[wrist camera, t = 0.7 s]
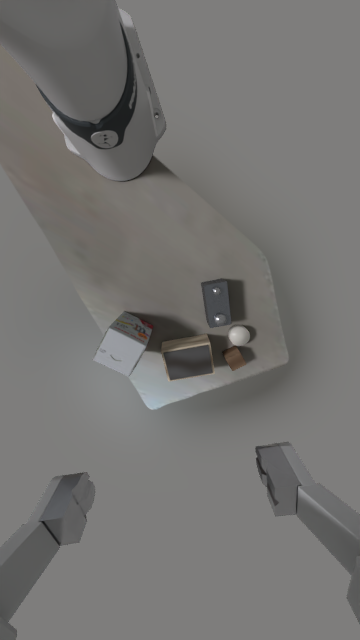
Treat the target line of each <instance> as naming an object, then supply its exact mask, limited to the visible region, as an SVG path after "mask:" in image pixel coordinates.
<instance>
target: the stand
mask: <svg viewBox="0 0 360 640" xmlns="http://www.w3.org/2000/svg"><path fill="white" fill-rule="evenodd" d="M161 354H162V357H163V361H164V365H165V369H166V373H167V377H168V381H175V380H180V379H186V378H192V377H198V376H203V375H209V374H215V372H214V365H213V358H212V352H211V345H210V341H209V338H208V336H207V334H203V335H198V336H192V337H187V338H181V339H176V340H170V341H165V342H162V347H161Z"/></svg>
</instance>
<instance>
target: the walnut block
mask: <svg viewBox="0 0 360 640" xmlns="http://www.w3.org/2000/svg"><path fill="white" fill-rule="evenodd" d="M222 353H223V355H224V357H225V359H226V361H227V363H228V364H229V366H230V368H231V369H232V371H234V370H236V369H238V368H240V367H242V366H244V365H246V362H245V360H244V359H243V357H242V355H241V353H240V352H239V350H238V349H237V347H236V346H233V347H231V348H229V349H227V350H225V351H223V352H222Z"/></svg>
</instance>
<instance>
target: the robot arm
mask: <svg viewBox="0 0 360 640" xmlns="http://www.w3.org/2000/svg"><path fill="white" fill-rule="evenodd" d="M0 44H1V45H2V46H3V47H4V48H5V50H6V51H7V52H8V53H9V54H10V55H11V56H12V57H13V58H14V59H15V61H16V62H17V63H18V64H19V65H20V66H21V67H22V68H23V70H24V71H25V72H26V73H27V74H28V75H29V76H30V78H31V79H32V80H33V81H34V82H35V83H36V86H37V88H38V89H39V91H40V93H41V95H42V96H43V98H44V99H45V101H46V102H47V104H48V105H49V107H50V109H51V110H52V111H53V115H52V117H53V119H54V121H55V123H56V124H57V126H58V127H59V128H60V130H61V131H62V132H63V134H64V136H65V142H66V145H67V147H68V148H69V150H70V151H71V152H72V153H73V154H75V155H77V156H79V157H81V158H83V159H85V160H86V161H87V162H88V163H89V164H90V165H91V166H92V167H93V168H94V169H95V170H96V171H97V172H98V173H99V174H101V175H102V176H104V177H106V178H108V179H111V180H115V181H126V180H130V179H133V178H135V177H136V176H138V175H139V174H141V173H142V172H143V171H144V170H145V168H146V167H147V165H148V164H149V162H150V160H151V158H152V155H153V151H154V148H155V145H156V143H157V141H158V140H159V139H160V138H161V136H162V135H163V134H164V132H165V130H166V122H165V118H164V115H163V112H162V109H161V106H160V103H159V100H158V97H157V93H156V91H155V88H154V84H153V81H152V79H151V75H150V72H149V69H148V66H147V63H146V60H145V57H144V54H143V51H142V48H141V45H140V42H139V39H138V36H137V32H136V29H135V26H134V23H133V21H132V18H131V16H130V15H129V14H128V13H127V12H125V11H123V10H121V9H119V8H118V6H117V4H116V1H115V0H0ZM155 115H158V116H159V117H158V118H155ZM255 449H256V454H257V458H256V463H257V468H258V472H259V475H260V478H261V480H262V483H263V484H264V485H265V486H266V487H267V495H268V499H269V501H270V504H271V506H272V509H273V511H274V514H275V516H285V515H295V514H297V516H298V518H299V519H300V520H301V521H302V522H303V523H304V524H305V525H306V526H307V527H308V528H309V530H310V531H311V532H312V533H313V534H314V535H315V536H316V537H317V538H318V539H319V540H320V542H321V543H322V544H323V545H324V546H325V547H326V548H327V549H328V550H329V551H330V552H331V554H332V555H333V556H334V557H335V558H336V559H337V560H338V561H339V562H340V563H341V565H342V566H343V567H344V568H345V569H346V570H347V571H348V572H349V573H350V574H351V575H352V576H351V580H350V584H349V588H348V594H347V599H348V601H349V604H350V606H351V608H352V610H353V612H354V614H355V616H356V618H357V620H358V622H359V624H360V514H359V513H357V512H356V511H355V510H353V509H352V508H351V507H350V506H348V505H347V504H346V503H344V502H343V501H342V500H340V499H339V498H338V497H337V496H335V495H334V494H333V493H332V492H330V491H329V490H328V489H326V488H325V487H324V486H323V485H321V484H320V483H315V481H314V480H313V478H312V477H311V475H310V473H309V472H308V470H307V469H306V467H305V466H304V464H303V462H302V461H301V459H300V457H299V456H298V454H297V453H296V451H295V449H294V448H293V446H292V445H291V444H290V443H289V442H283V443H275V444H269V445H263V446H257V447H256V448H255ZM88 479H89V475H88V473H87V472H84V473H77V474H70V475H62V476H56V477H54V478H53V479H52V480H51V481H50V483H49V485H48V487H47V488H46V490H45V492H44V493H43V495H42V497H41V499H40V500H39V502H38V504H37V506H36V507H35V509H34V511H33V513H32V514H31V516H30V518H29V520H28V522H27V523H26V524H23V525H22V526H21V527H20V528H19V529H18V530H17V531H16V532H15V533H14V534H13V535H12V536H11V537H10V538H9V539H8V540H7V541H6V542H5V543H4V544H3V545H2V546H1V547H0V640H16V637H17V630H16V629H15V628H14V627H13V626H11V625H10V624H9V623H8V622H9V620H10V619H11V617H12V616H13V615H14V613H15V612H16V610H17V609H18V607H19V606H20V604H21V603H22V602H23V600H24V599H25V597H26V596H27V594H28V593H29V591H30V590H31V588H32V587H33V586H34V584H35V583H36V581H37V580H38V579H39V577H40V576H41V574H42V573H43V571H44V570H45V568H46V567H47V566H48V564H49V563H50V561H51V560H52V558H53V557H54V555H55V554H56V553H57V551H58V550H59V548H60V546H62V545H68V544H73V543H79V541H80V539H81V536H82V533H83V531H84V528H85V525H86V522H87V519H86V514H87V512H88V511H89V510H90V509H91V507H92V504H93V501H94V496H95V486H94V484H93V482H91V481H89V480H88Z"/></svg>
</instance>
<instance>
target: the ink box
mask: <svg viewBox="0 0 360 640" xmlns="http://www.w3.org/2000/svg"><path fill="white" fill-rule="evenodd" d="M152 329H153V325H151V324H149V323H147V322H145V321H143V320H141V319H139V318H137V317H135V316H133V315H131V314H129V313H127V312H125V311H124V312H123V313H122V314H121V315H120V316H119V317H118V318H117V319H116V320H115V321H114V322H113V323H112V324H111V325H110V327H109V328H108V329H107V331H106V333H105V334H104V336H103V339H102V340H101V342H100V344H99V347H98V349H97V351H96V353H95V355H94V357H93V360H94V361H96V362H98V363H100V364H102V365H104V366H107V367H109V368H111V369H113V370H115V371H118V372H120V373H122V374H124V375H126V376H128V377H129V376H130V375H131V373H132V372H133V370H134V368H135V367H136V365H137V363H138V362H139V360H140V358H141V356H142V355H143V353H144V351H145V349H146V346H147V344H148V341H149V338H150V335H151V332H152Z"/></svg>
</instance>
